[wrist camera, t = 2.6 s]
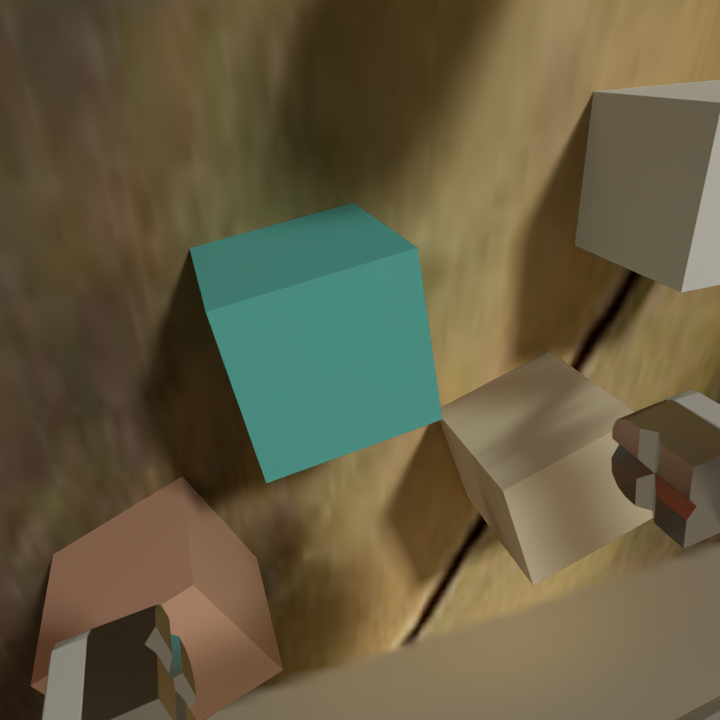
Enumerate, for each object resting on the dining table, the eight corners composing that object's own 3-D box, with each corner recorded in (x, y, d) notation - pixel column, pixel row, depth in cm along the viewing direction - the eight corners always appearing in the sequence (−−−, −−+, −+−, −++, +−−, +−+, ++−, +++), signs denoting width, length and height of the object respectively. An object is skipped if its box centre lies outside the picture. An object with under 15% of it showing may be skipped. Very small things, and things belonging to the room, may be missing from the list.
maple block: (548, 349, 23) (639, 416, 19) (568, 441, 26) (652, 517, 21) (434, 409, 23) (502, 491, 18) (467, 496, 25) (533, 585, 21)
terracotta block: (181, 474, 20) (193, 585, 16) (256, 556, 23) (283, 670, 19) (53, 552, 20) (30, 685, 16) (143, 627, 23) (144, 757, 19)
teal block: (352, 202, 18) (417, 247, 14) (380, 344, 21) (441, 419, 16) (189, 247, 17) (205, 311, 13) (239, 390, 20) (266, 483, 15)
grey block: (717, 79, 20) (871, 86, 16) (687, 225, 23) (813, 266, 18) (591, 91, 19) (722, 102, 15) (573, 244, 21) (681, 292, 17)
